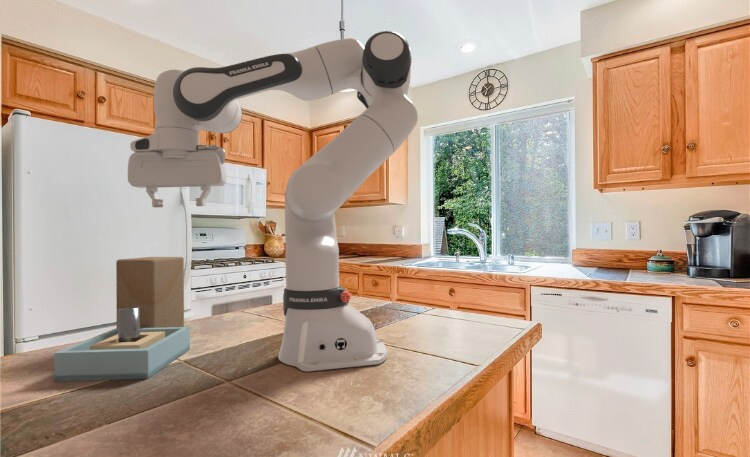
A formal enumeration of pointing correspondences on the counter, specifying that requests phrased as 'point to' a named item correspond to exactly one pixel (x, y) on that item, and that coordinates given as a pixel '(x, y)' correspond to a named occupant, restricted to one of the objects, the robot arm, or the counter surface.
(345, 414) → the counter surface
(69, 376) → the bin
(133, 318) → the peg
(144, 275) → the wooden block
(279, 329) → the counter surface
